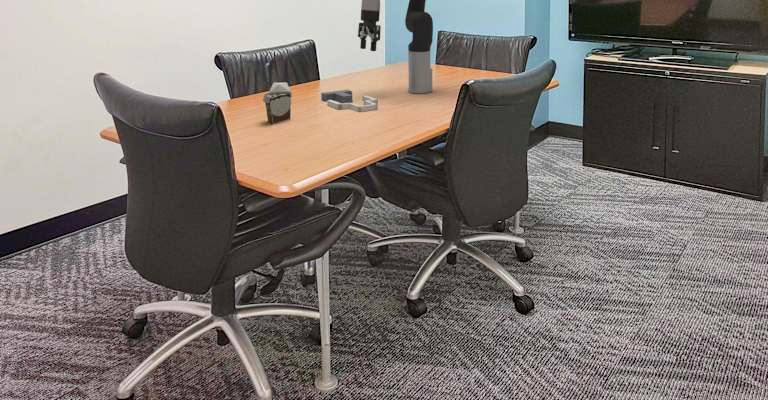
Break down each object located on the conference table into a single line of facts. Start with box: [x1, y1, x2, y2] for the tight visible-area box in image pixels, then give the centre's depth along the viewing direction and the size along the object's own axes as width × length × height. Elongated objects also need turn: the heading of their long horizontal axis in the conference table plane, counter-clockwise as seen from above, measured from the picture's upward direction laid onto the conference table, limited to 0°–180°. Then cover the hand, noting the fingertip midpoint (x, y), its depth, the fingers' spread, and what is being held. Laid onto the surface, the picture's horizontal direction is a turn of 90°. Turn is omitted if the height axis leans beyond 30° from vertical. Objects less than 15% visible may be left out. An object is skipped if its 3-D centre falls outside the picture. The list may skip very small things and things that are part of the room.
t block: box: [320, 89, 353, 104], centre depth 306 cm, size 12×12×3 cm
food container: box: [262, 91, 293, 125], centre depth 272 cm, size 12×6×10 cm, turn 145°
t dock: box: [327, 94, 379, 113], centre depth 294 cm, size 17×18×2 cm
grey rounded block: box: [268, 82, 293, 96], centre depth 303 cm, size 8×9×10 cm
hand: (367, 49), depth 309 cm, fingers open, 8 cm apart
